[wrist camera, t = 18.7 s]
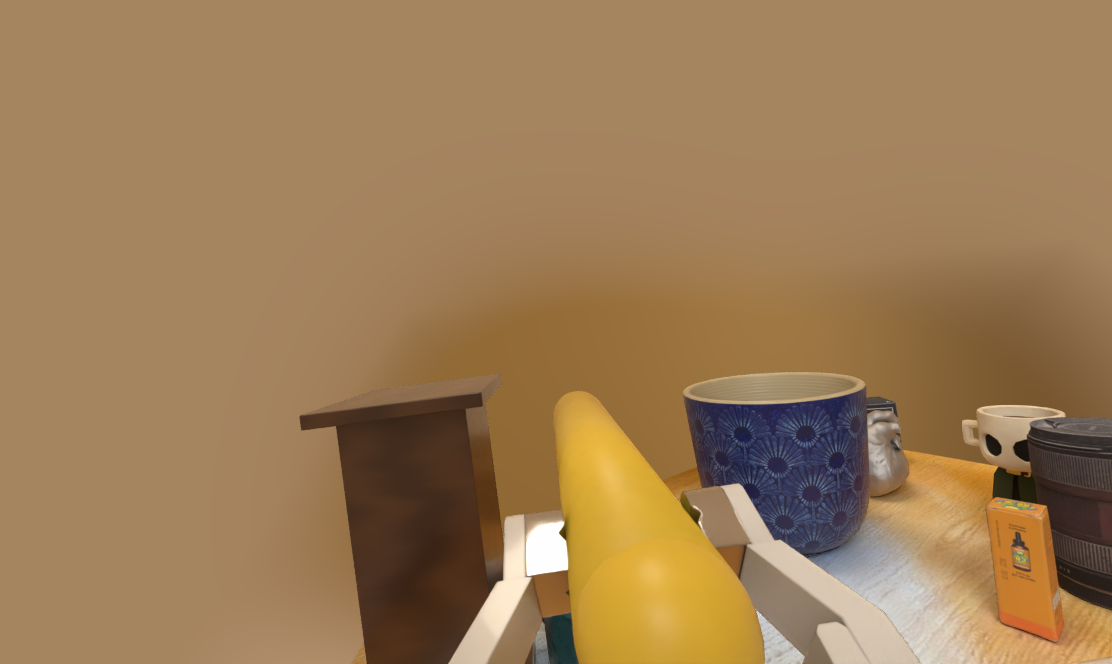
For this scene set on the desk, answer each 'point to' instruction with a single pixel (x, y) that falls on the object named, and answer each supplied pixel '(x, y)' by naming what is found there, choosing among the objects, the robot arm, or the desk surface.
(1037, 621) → the supplement box
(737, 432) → the planter
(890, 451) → the heart
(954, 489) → the desk surface
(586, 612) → the yellow rounded rod
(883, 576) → the desk surface
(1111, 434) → the camera lens
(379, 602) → the stand
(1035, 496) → the character mug
